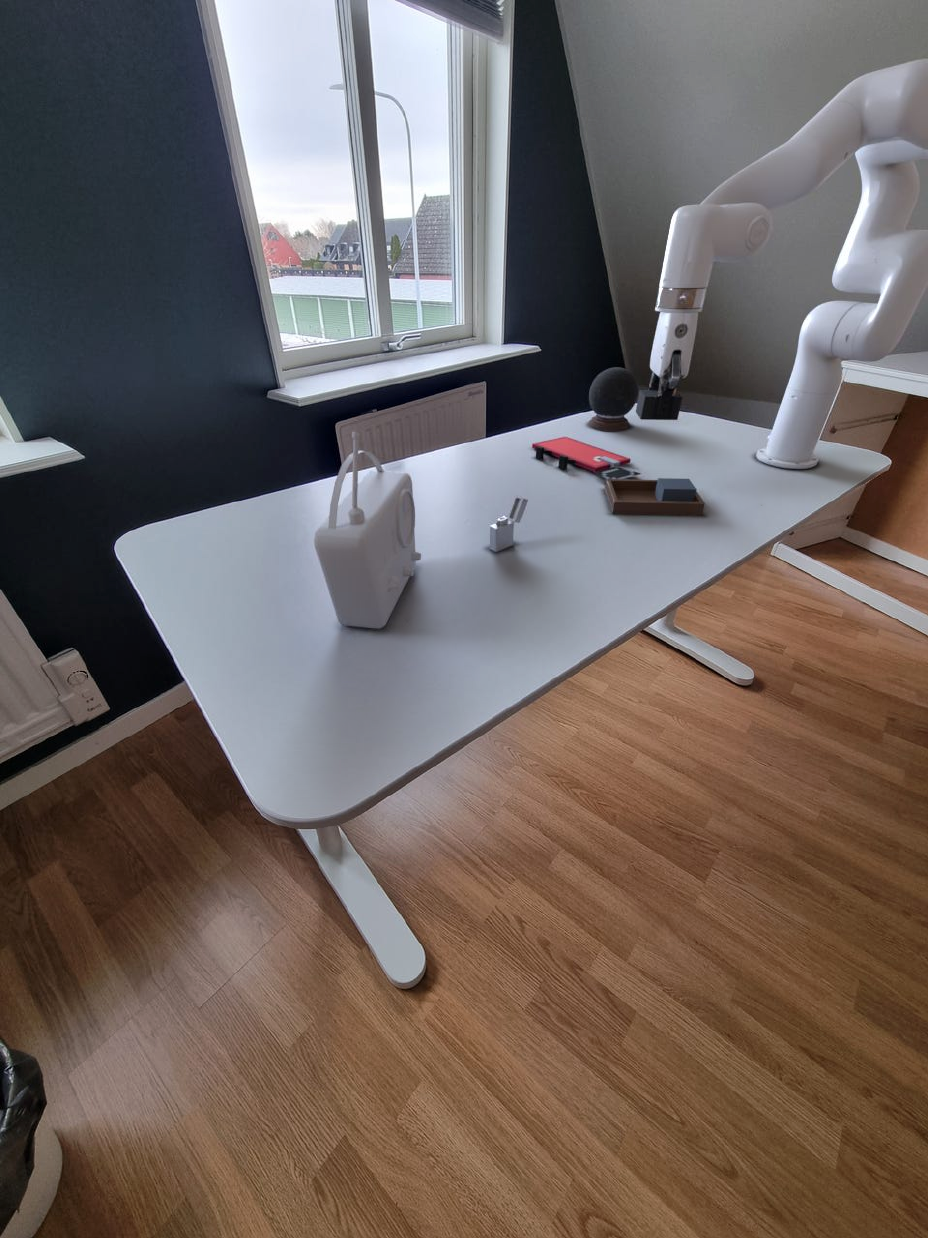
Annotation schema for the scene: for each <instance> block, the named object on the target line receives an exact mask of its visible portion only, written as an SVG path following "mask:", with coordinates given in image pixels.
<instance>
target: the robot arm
mask: <svg viewBox="0 0 928 1238" xmlns="http://www.w3.org/2000/svg"><path fill="white" fill-rule="evenodd" d="M853 155H854V156H855V160H856V162H857V166H858V169H859V173H860V178H861V198H860V201H859V204H858V208H857V210H856V214H855V216H854V218H853V221H852V223H851V225H850V228H849V231H848V233H847V235H846V238H845V241H844V243H843V245H842V248H841V250H840V252H839V256H838V257H837V261H836V263H835V265H834V269H833V272H832V277H831V283H832V286H833V288H835V289H836V290H838V291H840V292H845V293H852V294H853V293H854V294H867V295H868V294H869V295H880V296H879V298H878V301H877V302H865V301H857V300H856V301H855V300H832V301H826V302H823V303H821V304H819V305H817V306H816V307H814V308H813V309H812V310H811V311H809V313H807V315H806V317H805V319H804V320H803V322H802V325H801V327H800V330H799V337H798V344H797V350H796V354H795V355H796V356H795V360H794V364H793V367H792V370H791V373H790V376H789V380H788V382H787V385H786V388H785V392H784V394H783V397H782V399H781V400H782V401H781V403H780V406H779V409H778V412H777V415H776V417H775V421H774V423H773V427H772V429H771V432H770V434H769V435H767V440H768V441H767V444H766V447H762V448H760V449H758V450H757V451H756V454H755V457H756V459H757V460H758V461H760V463H761V462H762V463H764V464H766V465H769V466H773V467H777V468H782V469H790V470H805V469H810V468H813V467H816V466H817V464H818V462H819V458H818V457H817V455H815V454H813V453H814V451H815V449H816V446H817V445H818V444H817V443H818V442H819V439H820V436H821V434H822V431H823V429H824V426H825V424H826V421H827V419H828V416H829V414H830V411H831V408H832V406H833V404H834V401H835V399H836V397H837V394H838V392H839V389H840V386H841V384H842V379H843V365H842V359H845V360H852V361H857V362H858V361H859V362H867V363H869V362H870V363H873V362H877V361H881V360H882V359H885V358H886V357H887V356H889V354H891V353H892V351H893V350H894V349H895V348H896V347H897V345H898V344H899V342H900V341H901V339H902V337H903V336H904V333H905V332H906V329H907V327H908V326H909V324H910V322H911V320H912V317H913V316H914V314H915V312H916V310H917V308H918V306H919V304H920V302H921V300H922V298H923V296H924V294H925V292H926V290H927V288H928V229H907V226H908V223H909V221H910V219H911V216H912V214H913V212H914V210H915V207H916V204H917V202H918V200H919V195H920V189H921V188H920V187H921V185H920V184H921V183H920V175H919V172H918V168H917V166H916V163H915V161H916V162H917V161H924V160H928V58H921V59H915V60H911V61H907V62H904V63H900V64H896V65H893V66H889V67H884V68H881V69H878V70H874V71H871V72H867V73H865V74H863V75H860V76H859V77H857V78H855V79H854V80H852V81H851V82H849V83H848V84H847V85H846V86H844V87H843V88H842V89H841V90H840V91H839V92H838V93H837V94H836V95H835V96H834V97H833V98H832V99H831V100H830V101H828V102H827V103H826V104H825V105H824V106H823V107H822V108H821V109H820V110H819V111H818V112H817V113H816V114H815V115H814V116H813V117H811V119H810V120H809V121H808V122H807V123H806V124H805V125H803V126H802V127H801V128H800V129H799V130H798V131H797V132H796V133H795V134H794V135H793V136H792V137H790V139H788V140H787V141H786V142H784V143H783V144H780V146H778V147H776V148H774V149H773V150H771V151H770V152H769V151H768V153H766V154H764V155H763V156H762V157H760V158H758V159H757V160H755V161H754V162H751V164H749V165H747V166H746V167H744V168H742V169H741V170H738V172H736V173H735V174H733V175H731V176H730V177H729V178H728V179H726V180H725V181H723V182H722V183H721V184H720V185H718V186H717V187H716V188H715V189H714V190H713V191H712V192H710V194H709V195H708V196H707V197H705V199H703V200H702V201H701V202H700V203H699V204H688V205H682V206H680V207H678V208H677V209H676V210H675V211H674V212H673V215H672V217H671V221H670V226H669V230H668V237H667V241H666V248H665V253H664V259H663V264H662V270H661V275H660V280H659V285H658V290H657V298H656V302H655V307H654V311H655V312H660V313H659V316H658V320H657V324H656V327H655V328H656V329H655V335H654V338H653V343H652V349H651V353H650V359H649V368H650V370H651V372H652V373H651V377H650V381H649V387H648V389H647V390H658V395H656V396H655V401H654V406H653V411H652V416H651V417H652V419H669V418H670V414H671V410H672V406H673V401H674V397H675V393H676V391H677V388H678V383H679V381H680V378H681V379H685V378H686V377H687V376H688V375H689V371H690V366H691V361H692V355H693V351H694V345H695V339H696V334H697V328H698V327H697V325H698V318H699V313H701V312H703V308H704V304H705V300H706V296H707V292H708V287H709V282H710V278H711V274H712V269H713V266H714V263H724V264H725V263H727V264H729V263H730V264H734V263H735V264H736V263H742V262H746V261H748V260H750V259H752V258H754V257H755V256H757V255H758V254H759V253H760V252H761V251H762V250H763V249H764V248H765V246H766V245H767V243H768V241H769V239H770V237H771V234H772V231H773V218H772V215H771V212H770V210H773V209H778V208H781V207H784V206H786V205H789V204H791V203H793V202H796V201H798V200H801V199H802V198H805V197H807V196H809V195H810V194H812V193H814V192H815V191H816V190H817V189H818V188H819V187H820V186H822V184H824V183H825V182H826V181H827V179H830V177H831V176H832V175H833V174H834V173H835V172H837V170H838V169H839V168H840V167H842V166H843V165H844V164H845V163H846V162H847V161H848V160H849V159H850V158H852V156H853Z"/></svg>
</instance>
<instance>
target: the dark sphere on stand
mask: <svg viewBox="0 0 928 1238" xmlns="http://www.w3.org/2000/svg"><path fill="white" fill-rule="evenodd" d="M639 391H640V389H639V384H638V380H637V378H636V377H635V375H634V374H633V373H632V372H631V371H629V370H628V369H626V368H624V367H617V366H615V367H614V366H613V367H610V368H607V369H605V370H603V371H601V372H600V373H599V374H598V375H597V376H596V377H595V378H594V379H593V381H592V383H591V385H590V388H589V393H588V401H589V406H590V408H591V409H592V411H593V413H594V414H596V415H595V416H592V417H591V418H590V420H589V421H588V426H589V428H591V429H594V430H598V431H604V432H619V431H625V430H627V429H629V428H630V422H629V420H628V419H627V418H626V417H625V416H626V415H627V414H629V413H630V412H631V411H632V409H634V407H635V405H636V404H637V402H638V396H639Z"/></svg>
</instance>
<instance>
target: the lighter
mask: <svg viewBox="0 0 928 1238" xmlns="http://www.w3.org/2000/svg"><path fill="white" fill-rule="evenodd" d="M528 501H529V499H528V498H525V497H523V496H521V495H515V498H514V499H513V504H512V505H511V508H510V510H509V513H508V516H505V515H503V516H501V517H498V518H496V522H495V523H494V524H491V525H490V526H489V550H491V551H493V552H495V553H498V552H500V551H503V550H505V549H507V548H509V547H511V546H513V545H514V529H515V523H517V524H519V523H521V520H522V518H523V516H524V512H525V511H526V510H525V509H526V507H527V504H528Z"/></svg>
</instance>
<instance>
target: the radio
mask: <svg viewBox="0 0 928 1238" xmlns="http://www.w3.org/2000/svg"><path fill="white" fill-rule="evenodd" d="M351 438H352V453H350V454H349V455H348V456H347V457H346V459H345V460H344V461H343V463H342V464H341V466H340V468H339V471H338V474H337V476H336V479H335V482H334V485H333V490H332V495H331V500H330V505H329V514H328V516H327V517H326V518H325V519H324V520H323V522H322V523H321V524H320V525H319V526H318V527H317V529H316V530H315V532H314V536H313V537H314V538H313V543H314V549H315V552H316V555H317V558H318V561H319V564H320V565H319V566H320V567H321V571H322V573H323V577H324V581H325V583H326V587H327V590H328V593H329V597H330V599H331V603H332V606H333V609H334V612H335V613H334V614H335V616H336V619H337V621H338V623H339V624H340V625H342V626H345V627H346V626H347V627H356V628H366V629H368V628H369V629H382V628H384V627H385V626H386V624H387V622H388V621H389V619H390V616H391V614H392V612H393V611H394V609H395V606H397V605H396V604H397V603H398V600H399V599H400V596H401V595H402V593H403V591H404V589H405V587H406V584H407V583H408V580H409V579H410V577H414V572H415V570H414V569H415V566H416V563H417V562H418V561H421V559H422V553H421V552H420V551H416V535H415V526H416V508H415V507H416V506H415V499H414V493H413V492H414V490H413V481H412V477H411V475H410V474H409V473H408V472H406V471H393V470H392V471H391V470H384V468H383V466H382V464H381V462H380V460H379V459H378V458H377V457H376V455H375V454H374V453H373V452H371V451H366V450H359V441H360V438H361V432H359V431H356V430H355V431H352V432H351ZM361 454H365V455H366V456H367V457H368V458H369V459H370V460H371V461H372V463H373V466H374V467H375V470H370V471H368V472H367V473H366V474H365V475H364V476H363V477H362V478H361V480H360V481H359V476H358V475H359V456H360V455H361ZM351 464H352V483H351V484H352V487H351V489H352V490H351V491H350V492H349V493H348V494H347V495H346V496H345V498H343V499H342V501H340V496H341V491H342V487H343V483H344V480H345V478H346V476H347V472H348V470H349V467H350V466H351Z"/></svg>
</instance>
